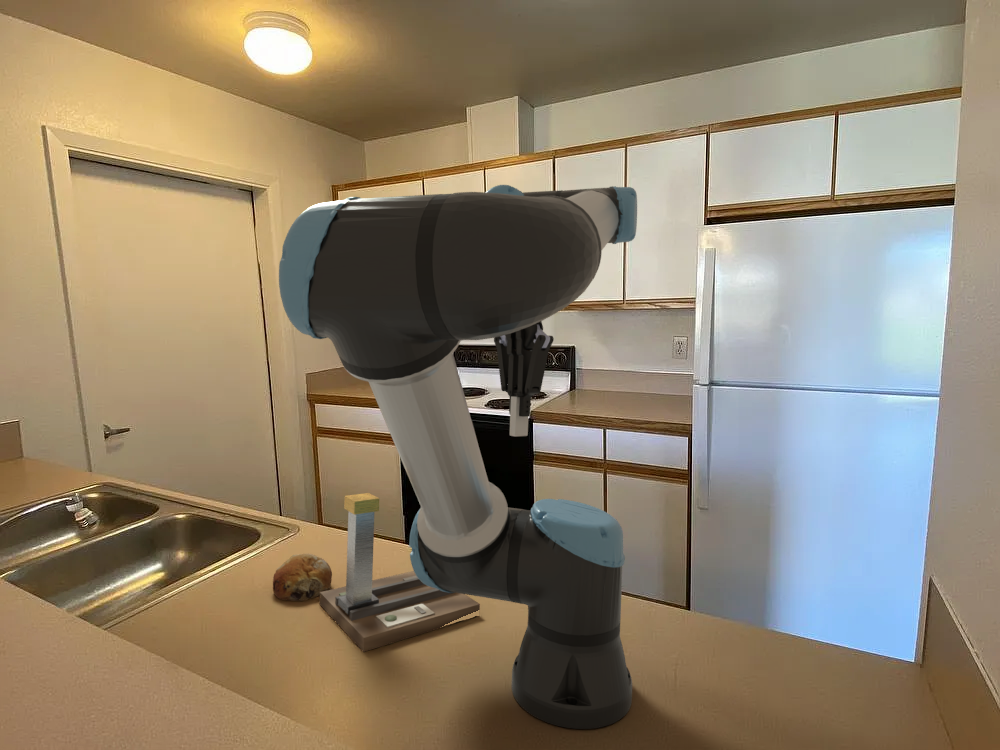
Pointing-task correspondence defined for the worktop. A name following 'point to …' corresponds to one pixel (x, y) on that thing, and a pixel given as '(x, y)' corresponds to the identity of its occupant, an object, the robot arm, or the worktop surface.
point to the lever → (359, 552)
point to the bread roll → (302, 578)
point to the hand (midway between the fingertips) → (518, 435)
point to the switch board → (397, 610)
